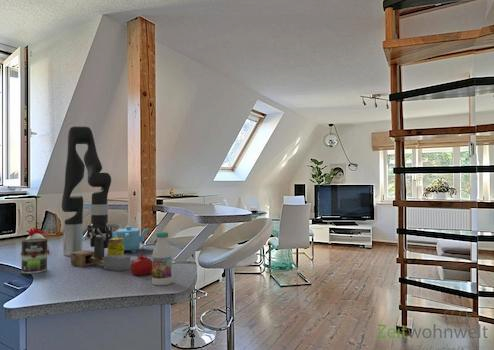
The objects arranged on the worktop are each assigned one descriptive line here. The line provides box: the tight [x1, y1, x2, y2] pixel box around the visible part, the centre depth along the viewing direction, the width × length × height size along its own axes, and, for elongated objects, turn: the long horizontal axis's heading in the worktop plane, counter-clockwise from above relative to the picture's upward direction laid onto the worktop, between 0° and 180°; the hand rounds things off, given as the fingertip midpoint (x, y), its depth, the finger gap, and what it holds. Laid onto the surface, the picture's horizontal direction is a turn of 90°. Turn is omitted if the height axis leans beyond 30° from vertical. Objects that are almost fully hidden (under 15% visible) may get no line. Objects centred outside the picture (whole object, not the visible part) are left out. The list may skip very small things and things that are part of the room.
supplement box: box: [107, 238, 125, 256], centre depth 187 cm, size 6×6×11 cm
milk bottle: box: [151, 231, 173, 286], centre depth 141 cm, size 8×8×20 cm
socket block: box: [70, 249, 95, 268], centre depth 176 cm, size 8×8×6 cm
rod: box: [89, 235, 105, 266], centre depth 169 cm, size 21×3×13 cm, turn 63°
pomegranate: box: [129, 252, 152, 276], centre depth 156 cm, size 10×10×9 cm
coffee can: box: [20, 238, 49, 275], centre depth 163 cm, size 10×10×14 cm
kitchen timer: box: [20, 227, 50, 255], centre depth 204 cm, size 14×14×15 cm
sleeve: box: [103, 254, 132, 272], centre depth 166 cm, size 11×6×6 cm, turn 63°
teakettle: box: [112, 225, 150, 253], centre depth 210 cm, size 19×19×15 cm
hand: (99, 247), depth 171 cm, fingers open, 8 cm apart
